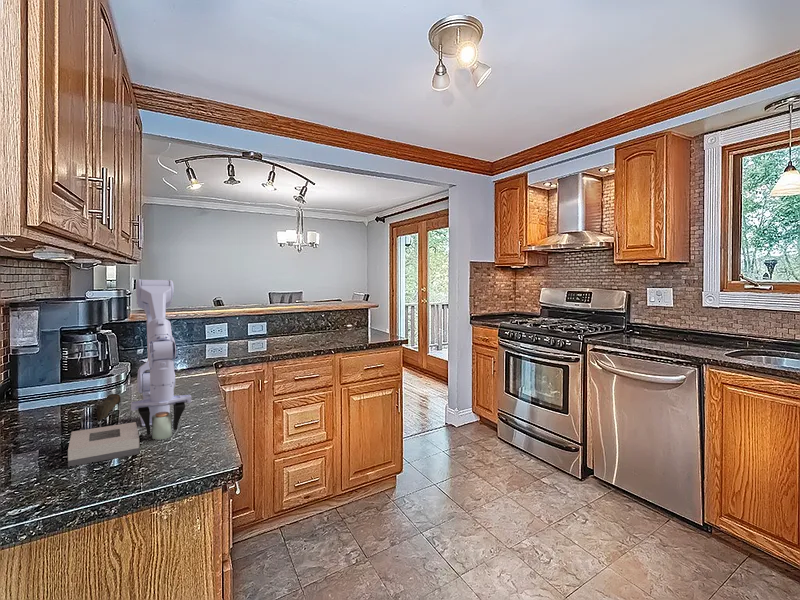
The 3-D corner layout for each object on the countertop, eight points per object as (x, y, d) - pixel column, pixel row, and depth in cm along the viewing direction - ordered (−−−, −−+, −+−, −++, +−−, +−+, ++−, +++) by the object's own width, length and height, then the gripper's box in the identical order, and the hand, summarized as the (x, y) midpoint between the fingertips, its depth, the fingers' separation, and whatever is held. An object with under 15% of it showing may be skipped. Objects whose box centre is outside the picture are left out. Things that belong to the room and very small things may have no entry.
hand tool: (107, 405, 143) (107, 391, 143) (120, 404, 144) (120, 391, 144) (87, 423, 125) (87, 408, 125) (103, 421, 127) (103, 406, 126)
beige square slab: (71, 446, 107) (71, 431, 107) (135, 436, 115) (135, 422, 115) (68, 467, 95) (67, 450, 95) (139, 453, 104) (139, 438, 103)
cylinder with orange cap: (151, 435, 116) (151, 412, 116) (170, 432, 119) (170, 409, 118) (152, 441, 112) (152, 417, 112) (172, 437, 115) (172, 414, 114)
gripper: (131, 390, 107) (132, 441, 108) (193, 383, 116) (193, 430, 116) (130, 384, 113) (130, 433, 113) (189, 378, 121) (188, 423, 122)
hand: (162, 431), depth 115 cm, fingers open, 6 cm apart
